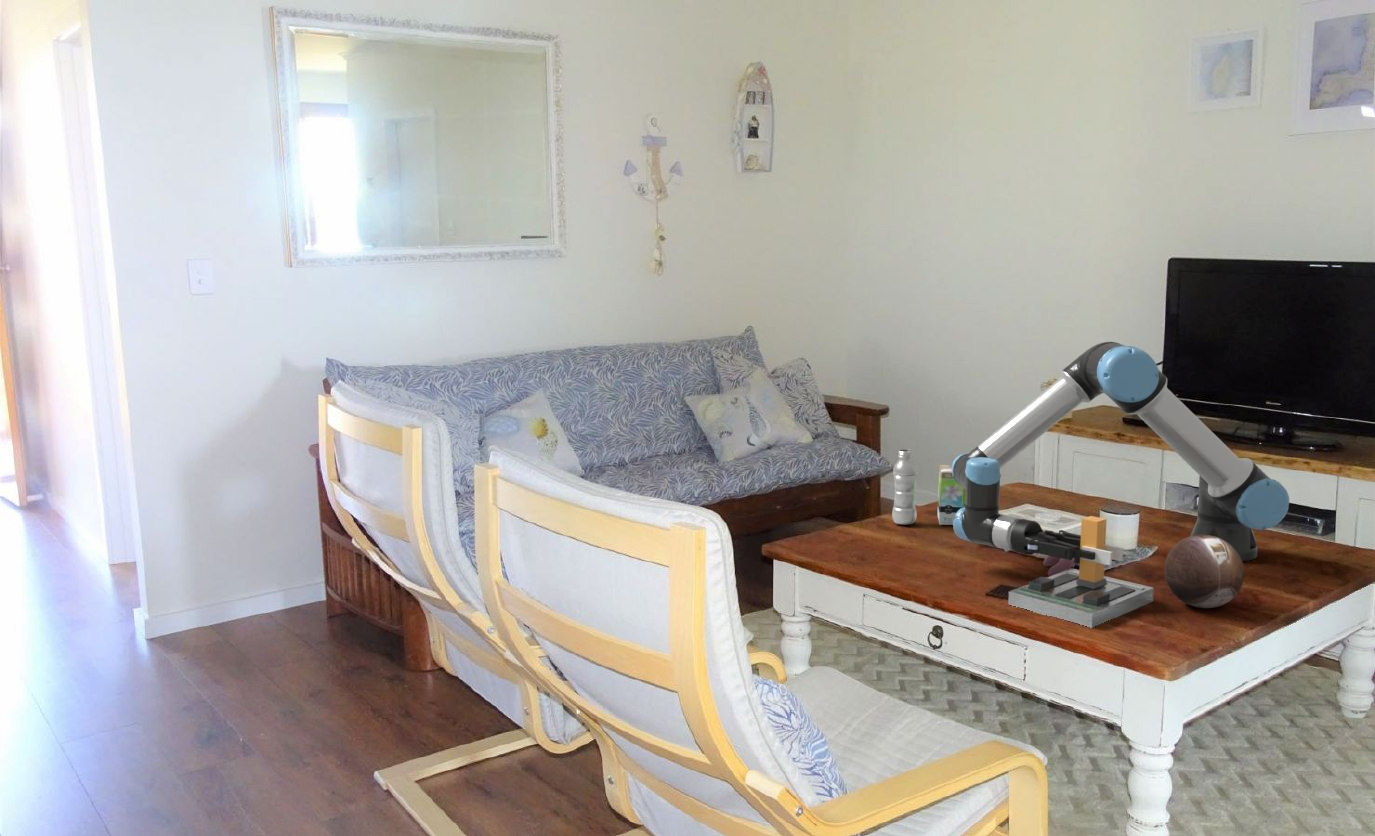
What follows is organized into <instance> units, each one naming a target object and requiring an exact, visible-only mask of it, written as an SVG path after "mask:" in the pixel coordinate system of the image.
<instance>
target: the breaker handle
mask: <svg viewBox="0 0 1375 836" xmlns="http://www.w3.org/2000/svg"><path fill="white" fill-rule="evenodd" d="M1080 521H1081V524H1080V535H1081V544H1080V549H1082V546H1087V547H1091V548H1096V549H1101V550H1105V544H1106V543H1107V542H1106V538H1107V537H1106V535H1107V518H1105V517H1104V518H1102V517H1098V516H1094V515H1089V516H1086V517H1084V518H1081V520H1080ZM1078 570H1079V578H1078V579H1077V582H1076V585H1080V586H1084V587H1088V588H1092V589H1095V588H1097V587H1100V586H1103V585H1105V584H1106V579H1105V578H1104V576H1105V564H1101V563H1097V562H1092V561H1088V560H1084V559H1081V557H1080V562H1079V569H1078Z"/></svg>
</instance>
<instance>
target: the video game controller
mask: <svg viewBox="0 0 1375 836" xmlns="http://www.w3.org/2000/svg"><path fill="white" fill-rule="evenodd" d="M1075 564H1076V562H1075V558H1072V560H1067V559H1062V558H1058V557H1053V556H1048V555H1047V556H1046V557H1045V558H1044V560H1043V566H1045V567H1046V566H1051V567H1050V568H1049V569H1048V571H1047V575H1048V576H1047V577H1050V576H1052V575H1055V574H1058V573H1061V572H1063V571H1066V570H1069V569H1071V568H1072V569H1074V567H1075V566H1076V565H1075Z"/></svg>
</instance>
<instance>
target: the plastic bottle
mask: <svg viewBox="0 0 1375 836" xmlns="http://www.w3.org/2000/svg"><path fill="white" fill-rule="evenodd" d="M897 457H898V460H897V461H896V462H895V464H894V466H893V468H892V474H893V480H894V499H893V500H894V501H893V507H892V513H891V517H892V521H893V522H894V523H895V524H897V525H902V526H906V525H913V524H914V523H915V522H916V520H917V516H918V515H917V508H916V507H917V506H916V497H915V496H916V495H915V494H916V482H917V476H918V467H917V465H916V463H915V462H914V461H913V460H912V458H913V457H914V455H913V450H912V449H908V448H907V449H906V448H904V449H902V448H901V449H898V455H897Z"/></svg>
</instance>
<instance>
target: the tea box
mask: <svg viewBox="0 0 1375 836" xmlns="http://www.w3.org/2000/svg"><path fill="white" fill-rule="evenodd" d="M951 468H952V465H950V464H939V467H938V469H939V470H938V492H937V518H938V519H937V520H938V524H939V526H944V525H945V526H953V521H954V520H955V515H956V513H957V511H958V510H959V509H961V508H963V507H965V489H964V488H963V487H962V486H961V485H960V484H958V483H957V482H956V481H955V478H954V476H953V474H952V470H951Z"/></svg>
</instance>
